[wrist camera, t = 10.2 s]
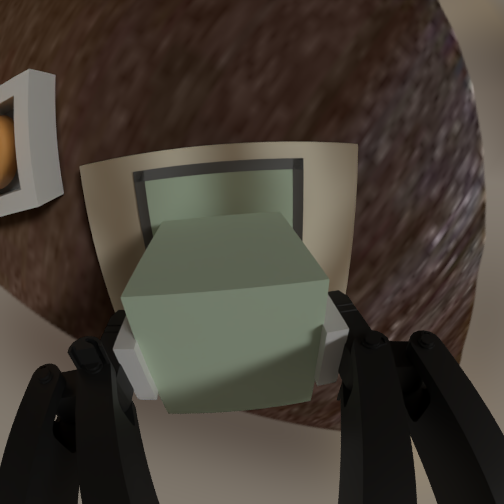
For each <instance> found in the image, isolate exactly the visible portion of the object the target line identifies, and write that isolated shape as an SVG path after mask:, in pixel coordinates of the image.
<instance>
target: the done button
mask: <svg viewBox="0 0 504 504" xmlns="http://www.w3.org/2000/svg"><path fill="white" fill-rule="evenodd" d="M17 168H18V167H17V159H16V148H15V134H14V121H13V119H12V118H10V117H9V116H6V115H0V189H3V188H5V187H6V186H7V185H8V184H9V183H10V182H11V181H12V179H13V178H14V176H15V174H16V171H17Z"/></svg>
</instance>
